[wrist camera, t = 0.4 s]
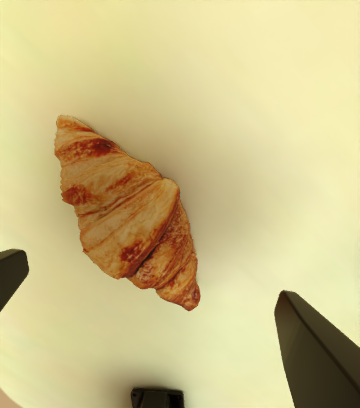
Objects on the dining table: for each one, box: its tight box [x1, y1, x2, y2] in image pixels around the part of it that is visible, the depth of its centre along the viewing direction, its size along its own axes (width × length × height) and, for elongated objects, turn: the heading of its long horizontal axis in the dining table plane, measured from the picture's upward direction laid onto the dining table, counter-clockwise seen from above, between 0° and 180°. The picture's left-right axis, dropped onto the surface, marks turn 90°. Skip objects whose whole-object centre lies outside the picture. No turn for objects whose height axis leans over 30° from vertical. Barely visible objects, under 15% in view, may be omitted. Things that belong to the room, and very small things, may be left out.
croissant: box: [55, 115, 200, 311], centre depth 20 cm, size 21×10×8 cm, turn 36°
